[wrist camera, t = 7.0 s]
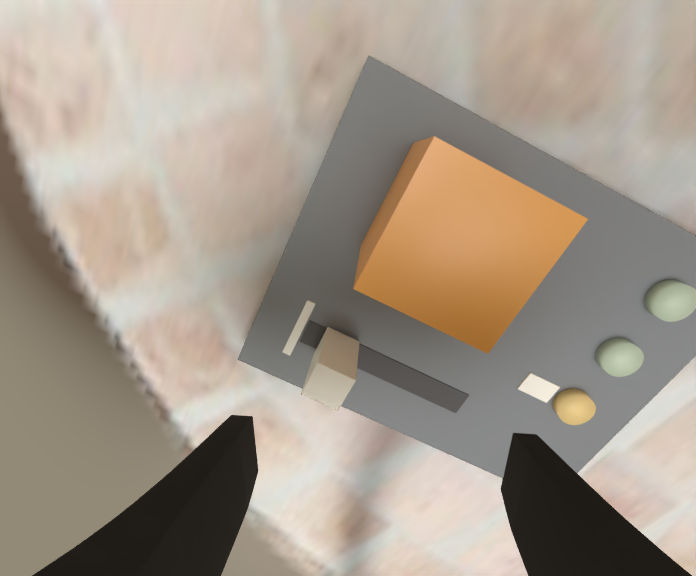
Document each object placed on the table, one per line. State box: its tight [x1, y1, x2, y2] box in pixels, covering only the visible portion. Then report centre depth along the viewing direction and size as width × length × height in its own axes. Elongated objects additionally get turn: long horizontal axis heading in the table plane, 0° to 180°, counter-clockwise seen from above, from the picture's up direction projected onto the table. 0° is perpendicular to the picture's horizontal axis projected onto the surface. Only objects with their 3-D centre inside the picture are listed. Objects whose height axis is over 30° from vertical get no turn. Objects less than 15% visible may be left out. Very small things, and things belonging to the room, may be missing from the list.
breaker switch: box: [301, 327, 359, 410], centre depth 15 cm, size 2×2×3 cm
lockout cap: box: [353, 136, 588, 354], centre depth 12 cm, size 4×4×5 cm
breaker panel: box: [238, 56, 696, 478], centre depth 16 cm, size 18×14×2 cm
